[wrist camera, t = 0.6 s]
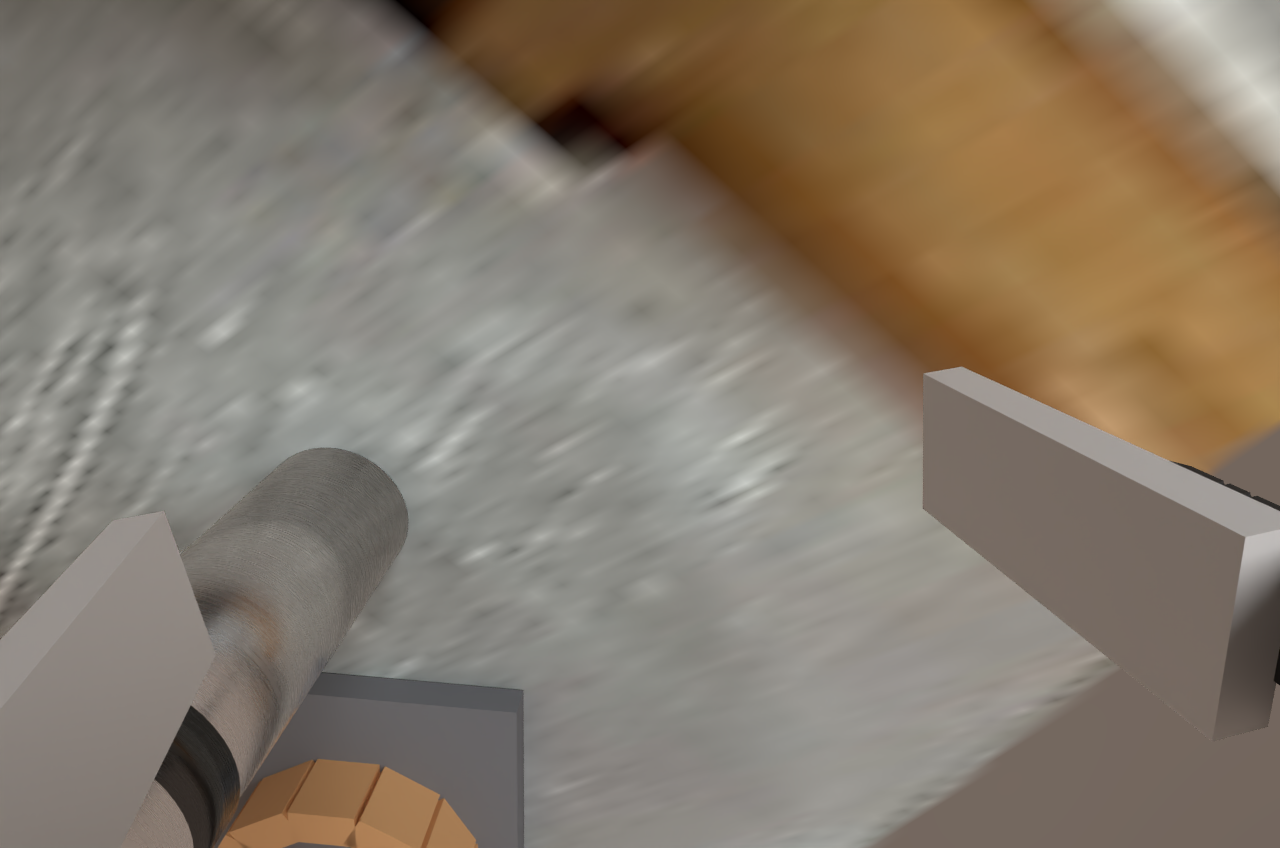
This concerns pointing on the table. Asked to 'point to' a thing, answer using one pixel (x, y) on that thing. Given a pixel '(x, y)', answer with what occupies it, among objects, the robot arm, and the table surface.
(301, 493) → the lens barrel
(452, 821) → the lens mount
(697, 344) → the table surface
